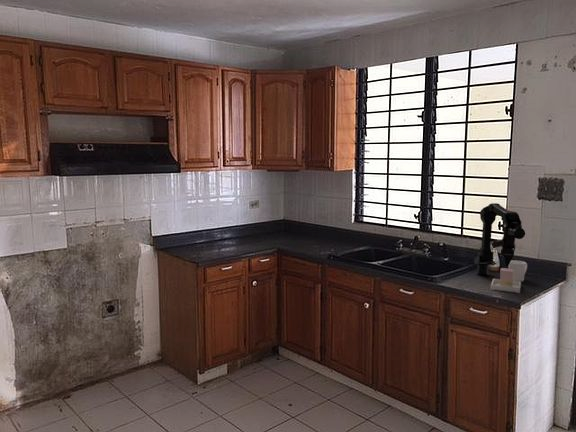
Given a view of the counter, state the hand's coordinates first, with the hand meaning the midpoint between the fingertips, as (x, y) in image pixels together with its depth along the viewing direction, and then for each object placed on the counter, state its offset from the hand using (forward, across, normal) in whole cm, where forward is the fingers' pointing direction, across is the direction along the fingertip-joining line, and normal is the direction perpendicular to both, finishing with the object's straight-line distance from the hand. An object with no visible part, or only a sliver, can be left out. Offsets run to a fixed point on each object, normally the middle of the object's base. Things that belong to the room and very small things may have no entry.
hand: (507, 264), depth 255 cm
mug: (+13, -21, +5) cm, 25 cm away
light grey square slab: (+13, 0, 0) cm, 13 cm away
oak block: (+12, 0, 0) cm, 12 cm away
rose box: (+8, 0, 0) cm, 8 cm away
